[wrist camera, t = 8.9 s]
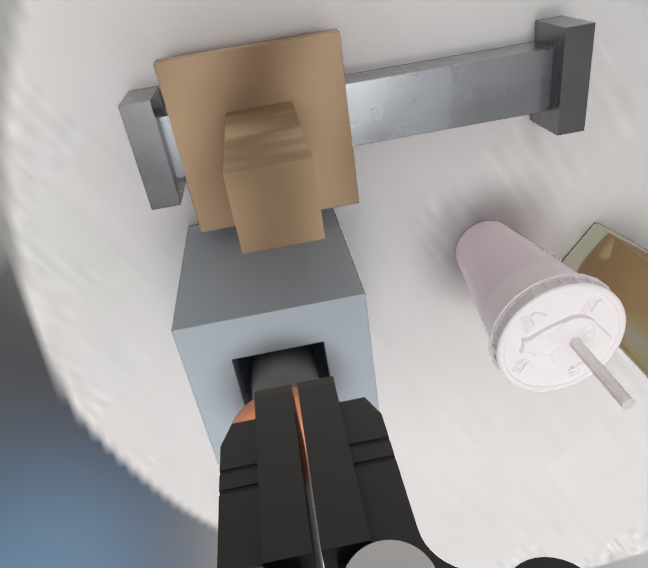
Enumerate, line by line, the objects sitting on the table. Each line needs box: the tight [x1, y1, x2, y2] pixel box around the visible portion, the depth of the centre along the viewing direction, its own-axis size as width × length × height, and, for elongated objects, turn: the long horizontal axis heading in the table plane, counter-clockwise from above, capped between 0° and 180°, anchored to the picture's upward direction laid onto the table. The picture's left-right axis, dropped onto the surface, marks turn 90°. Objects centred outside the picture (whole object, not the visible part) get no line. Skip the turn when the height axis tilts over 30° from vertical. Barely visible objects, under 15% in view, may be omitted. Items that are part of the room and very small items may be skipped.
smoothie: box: [456, 221, 635, 410], centre depth 29 cm, size 6×6×14 cm
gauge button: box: [231, 344, 341, 486], centre depth 25 cm, size 5×5×7 cm
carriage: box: [154, 29, 359, 254], centre depth 24 cm, size 8×8×11 cm
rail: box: [118, 16, 595, 210], centre depth 28 cm, size 22×5×3 cm, turn 98°
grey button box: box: [171, 208, 379, 464], centre depth 29 cm, size 8×8×10 cm
